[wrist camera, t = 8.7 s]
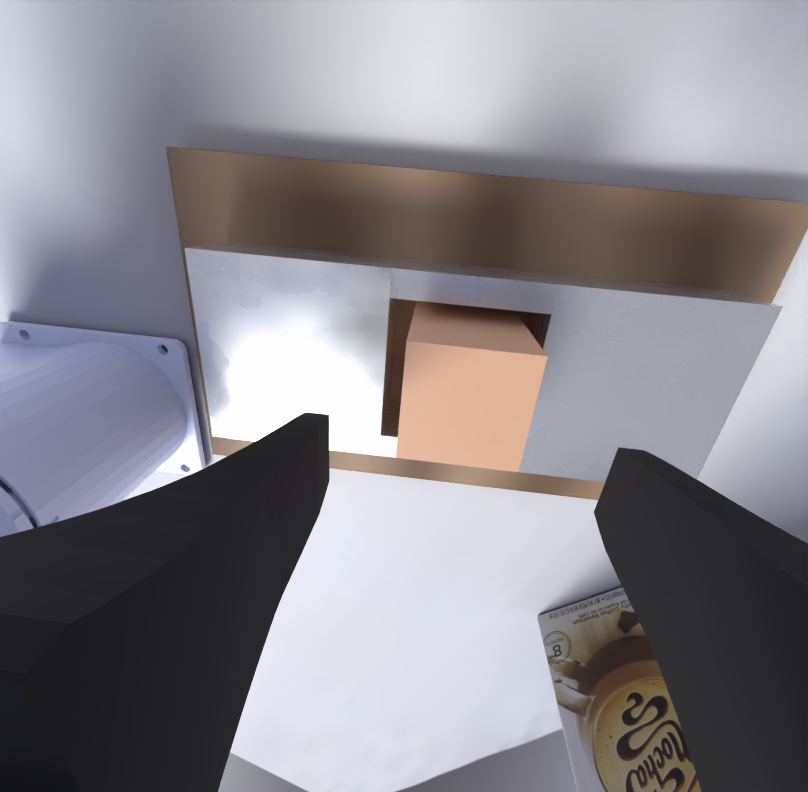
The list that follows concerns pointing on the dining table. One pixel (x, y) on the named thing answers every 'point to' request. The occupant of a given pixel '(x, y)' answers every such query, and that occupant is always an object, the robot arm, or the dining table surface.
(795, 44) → the dining table surface
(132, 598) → the robot arm
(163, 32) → the dining table surface
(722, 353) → the white square hole block
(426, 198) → the board
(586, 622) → the coffee box
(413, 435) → the peg
